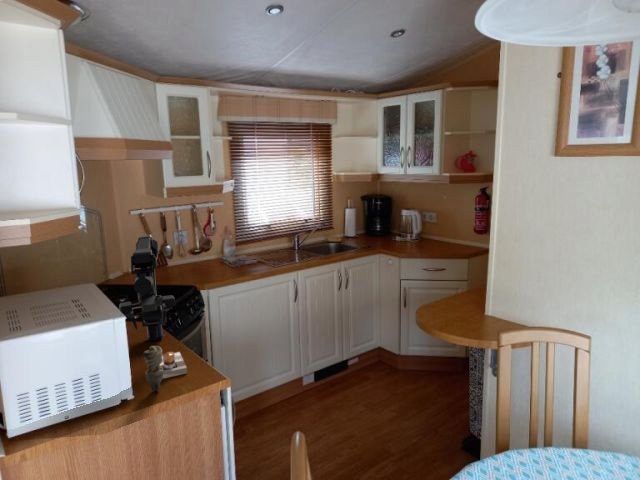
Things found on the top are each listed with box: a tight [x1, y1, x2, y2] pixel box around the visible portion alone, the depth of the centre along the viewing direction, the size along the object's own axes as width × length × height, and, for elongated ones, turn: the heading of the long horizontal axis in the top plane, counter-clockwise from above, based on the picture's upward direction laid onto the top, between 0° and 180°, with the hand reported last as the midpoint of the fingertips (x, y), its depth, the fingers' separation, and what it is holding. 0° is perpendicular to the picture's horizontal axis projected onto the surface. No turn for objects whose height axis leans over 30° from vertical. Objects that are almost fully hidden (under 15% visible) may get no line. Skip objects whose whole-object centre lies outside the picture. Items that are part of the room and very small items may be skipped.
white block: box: [160, 351, 188, 380], centre depth 159 cm, size 14×10×2 cm
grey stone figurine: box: [142, 345, 164, 392], centre depth 142 cm, size 6×6×15 cm
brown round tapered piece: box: [162, 351, 176, 370], centre depth 156 cm, size 4×4×6 cm
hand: (150, 326), depth 165 cm, fingers open, 9 cm apart
